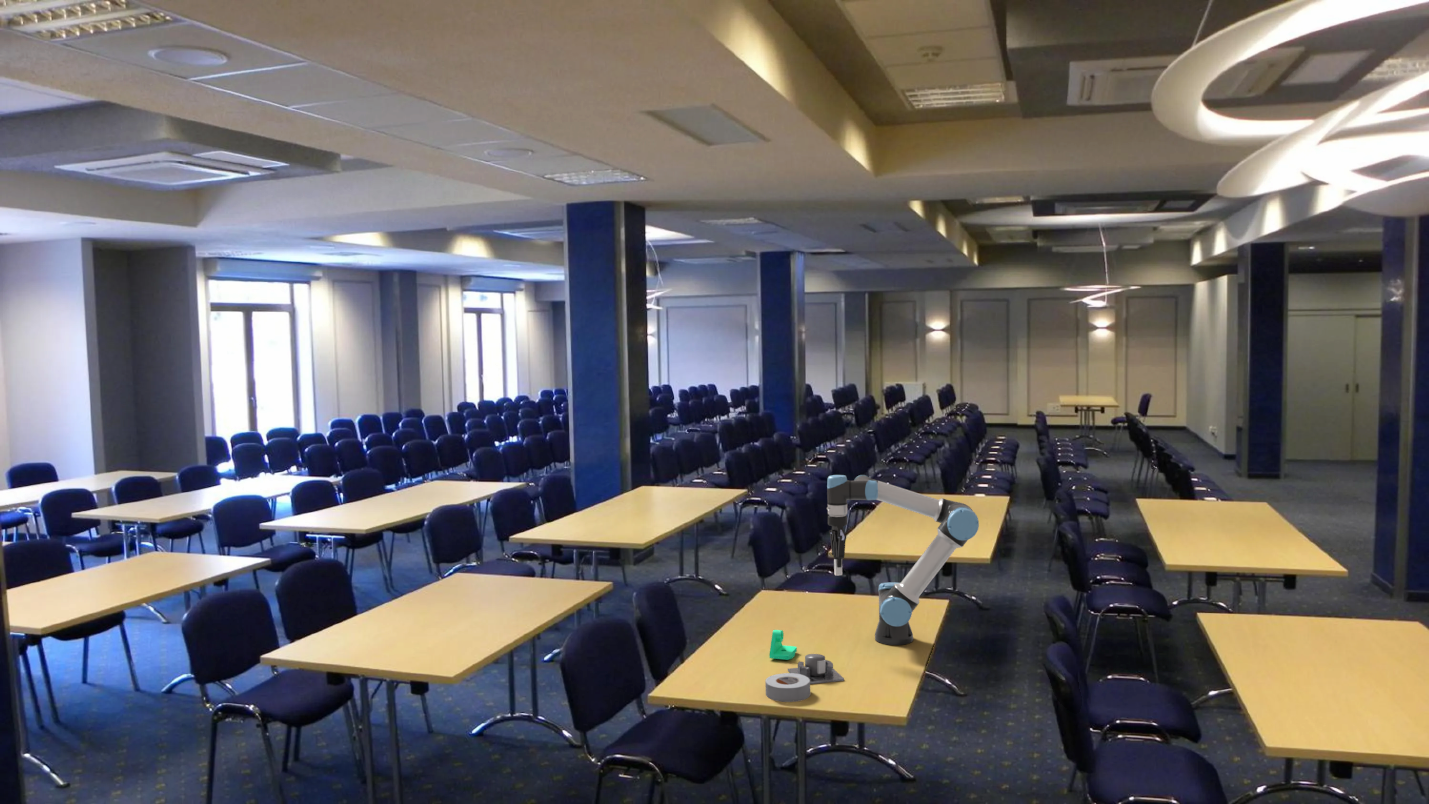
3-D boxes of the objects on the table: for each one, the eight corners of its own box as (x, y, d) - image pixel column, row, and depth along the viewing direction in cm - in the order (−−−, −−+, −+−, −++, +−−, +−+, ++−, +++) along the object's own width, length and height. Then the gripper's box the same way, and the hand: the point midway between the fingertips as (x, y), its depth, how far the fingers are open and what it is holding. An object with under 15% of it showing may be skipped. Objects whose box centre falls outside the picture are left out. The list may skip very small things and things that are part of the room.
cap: (816, 668, 367) (816, 652, 367) (829, 674, 360) (830, 658, 360) (800, 671, 363) (800, 654, 363) (814, 677, 356) (814, 660, 356)
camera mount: (788, 662, 378) (788, 635, 377) (769, 660, 380) (769, 634, 380) (797, 653, 389) (797, 627, 388) (778, 651, 391) (778, 625, 391)
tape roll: (766, 703, 336) (766, 688, 336) (764, 687, 351) (764, 673, 351) (812, 702, 336) (812, 687, 336) (808, 686, 351) (807, 672, 351)
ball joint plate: (829, 666, 371) (828, 655, 371) (844, 680, 356) (843, 668, 355) (787, 670, 368) (787, 659, 367) (801, 685, 352) (800, 673, 352)
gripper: (822, 512, 394) (823, 571, 396) (834, 518, 382) (834, 579, 383) (840, 511, 396) (841, 570, 397) (852, 517, 383) (853, 577, 385)
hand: (838, 574), depth 390 cm, fingers closed
